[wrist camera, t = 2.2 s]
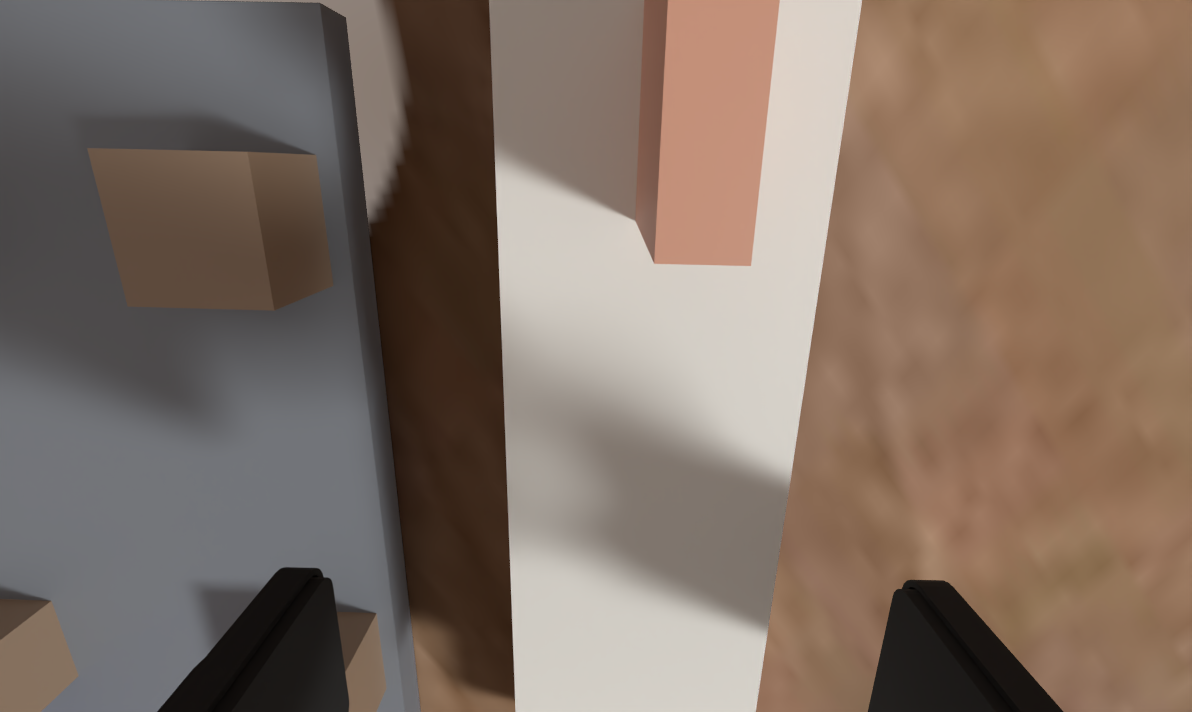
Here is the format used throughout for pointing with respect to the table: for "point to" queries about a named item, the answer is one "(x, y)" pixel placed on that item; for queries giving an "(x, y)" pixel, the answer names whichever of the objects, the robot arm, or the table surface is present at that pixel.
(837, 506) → the table surface
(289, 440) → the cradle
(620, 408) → the fuselage
